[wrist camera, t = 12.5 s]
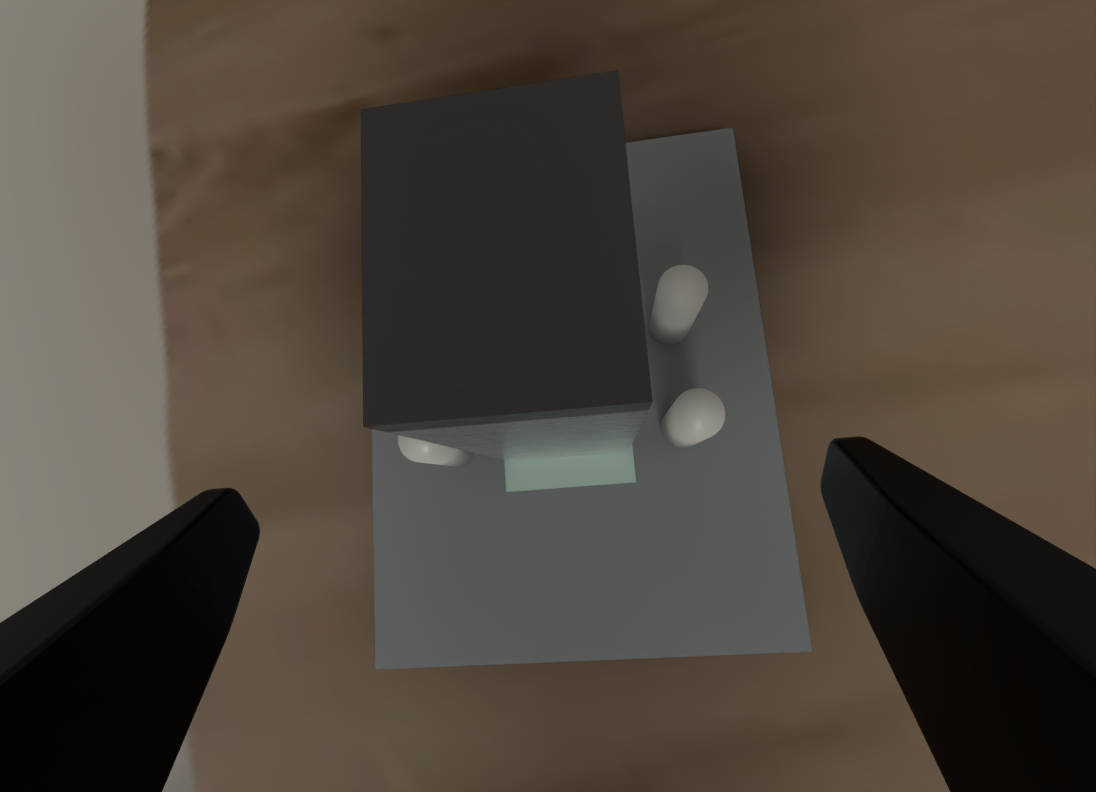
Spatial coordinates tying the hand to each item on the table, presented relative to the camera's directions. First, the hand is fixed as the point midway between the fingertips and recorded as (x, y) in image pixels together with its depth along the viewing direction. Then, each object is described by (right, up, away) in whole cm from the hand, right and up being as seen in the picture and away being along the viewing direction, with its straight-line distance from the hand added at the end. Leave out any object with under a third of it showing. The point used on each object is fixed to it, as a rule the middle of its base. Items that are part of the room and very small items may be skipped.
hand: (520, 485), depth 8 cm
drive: (+1, +2, +10) cm, 11 cm away
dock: (+1, +1, +12) cm, 12 cm away
